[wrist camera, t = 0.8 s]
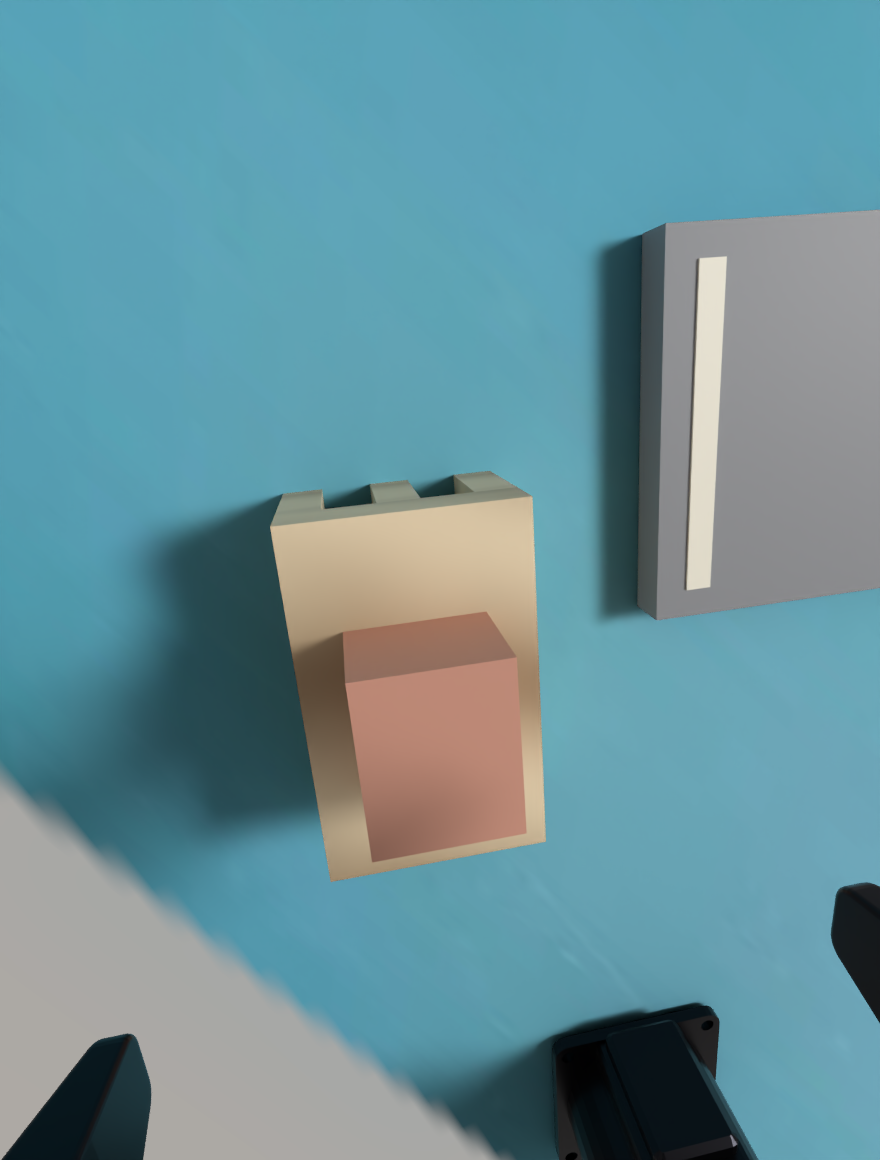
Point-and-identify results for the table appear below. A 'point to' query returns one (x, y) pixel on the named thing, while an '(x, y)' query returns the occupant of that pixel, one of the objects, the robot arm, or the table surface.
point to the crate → (435, 733)
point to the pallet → (394, 596)
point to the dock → (759, 412)
